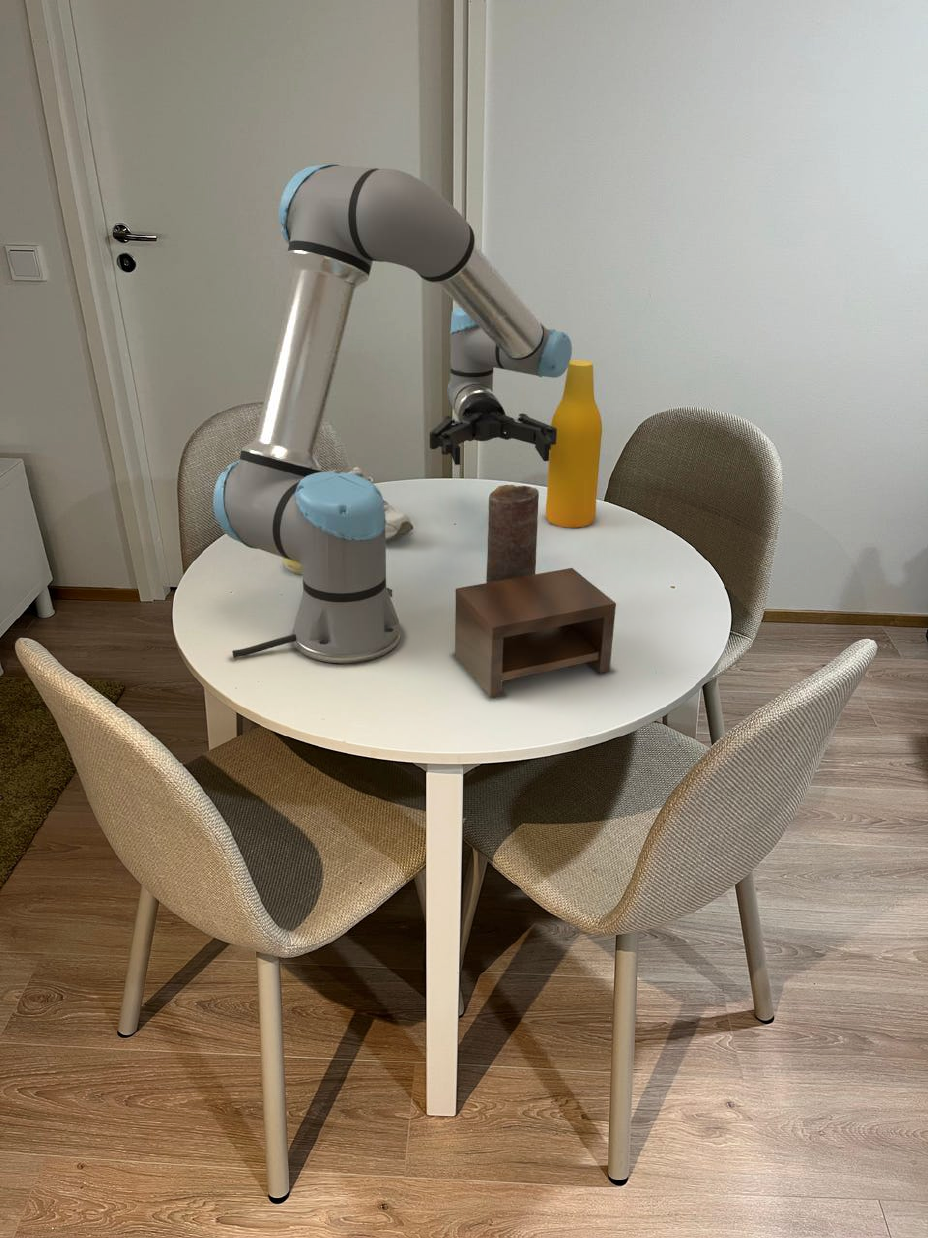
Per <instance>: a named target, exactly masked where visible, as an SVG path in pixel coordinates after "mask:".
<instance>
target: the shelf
mask: <svg viewBox="0 0 928 1238" xmlns="http://www.w3.org/2000/svg"><path fill="white" fill-rule="evenodd" d="M454 603H455V606H454V607H455V611H454V613H455V615H454V622H455V623H454V625H455V626H454V656H455V658H457V660H458V661H459V662H460V663H461V665H462V666H463V667H464V669H465V670H466V671H467V672H468V673H469V674H470V675H471V676H472V678H473V679H474V680H475V682H476V683H478V685H479V686H480V687H481V688H482V689H483V691H484V692H485V693H486V694H487V696H488V697H489V698H490V699H492V698H496V697H501V696H502V685H503V681H507V680H513V679H516V678H521V677H527V676H530V675H534V674H539V673H544V672H548V671H553V670H558V669H563V668H567V667H571V666H576V665H580V664H584V663H588V664H589V665H590V666H591V667H592V668H593V669H594V670H595V671H596V672H597V673H598V674H604V673H607V672H610V670H611V659H612V649H613V640H614V628H615V619H616V607H617V603H616V602H615V600H613V599H611V598H610V597H609V596H608V595H606V594H605V593H604V592H603V591H602V590H601V589H599V588H598V587H597V586H596V585H595V584H594V583H592V582H590V581H589V580H588V579H587V578H586V577H585V576H583V575H582V574H581V573H580V572H578V571H577V570H575V568H573V567H569V568H563V569H556V570H552V571H546V572H540V573H535V574H534V575H529V576H523V577H517V578H512V579H506V580H501V581H495V582H489V583H486V582H485V583H484V582H483V583H477V584H473V585H468V586H462V587H456V588H455V602H454Z"/></svg>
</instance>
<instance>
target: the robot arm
mask: <svg viewBox="0 0 928 1238" xmlns="http://www.w3.org/2000/svg"><path fill="white" fill-rule="evenodd" d="M278 221H279V224H280V225H282V227H281V229H280V231H281V234H282V237H283V238H284V241H285V242H286V243H287V245H288V247H287V248H288V249H287V253H286V257H287V258H288V260H289V262H290V264H291V266H292V268H293V271H294V272H293V275H292V276H293V277H292V281H291V285H290V289H289V292H288V298H287V302H286V306H285V311H284V315H283V319H282V324H281V326H280V327H281V328H280V331H279V335H278V341H277V344H276V349H275V353H274V357H273V361H272V366H271V370H270V375H269V378H268V383H267V387H266V392H265V396H264V400H263V405H262V408H261V413H260V417H259V423H258V426H257V430H256V434H255V438H254V439H253V440H252V441H251V442H249V443H247V444H246V445H243V446H242V448H241V452H240V455H239V458H238V461H234V462H231V463H230V464H228V466H226V467H225V471H222V472H221V473H220V474H219V476H218V478H217V480H216V482H215V485H214V489H213V493H212V494H213V496H212V506H213V512H214V516H215V519H216V521H217V523H218V524H219V526H220V528H221V530H222V531H223V532H224V534H225V535H227V536H228V537H229V538H231V539H232V540H234V541H236V542H239V543H240V544H242V545H244V546H245V547H248V548H251V549H255V550H260V551H263V552H266V553H269V554H273V555H275V556H278V557H281V558H282V559H283V558H286V559H289V560H292V561H295V562H298V563H300V564H301V565H302V574H301V575H302V589H303V591H302V595H301V598H300V602H299V605H298V609H297V612H296V615H295V619H294V623H293V624H294V625H293V634H290V635H287V636H282V637H278V638H275V639H272V640H268V641H264V642H262V643H259V644H255V645H253V646H249V647H245V648H241V649H234V650H232V651H231V653H232V657H233V658H239V657H244V656H245V657H246V656H248V655H249V656H250V655H253V654H256V653H259V652H262V651H265V650H268V649H269V650H270V649H272V648H276V647H279V646H282V645H287V644H290V643H293V642H294V645H295V647H296V648H297V650H298V651H299V652H300V653H302V654H303V655H304V656H307V657H308V658H311V659H314V660H315V661H320V662H325V663H331V664H333V663H334V664H354V663H362V662H366V661H370V660H374V659H377V658H379V657H381V656H384V655H386V654H387V653H389V652H391V651H393V649H394V648H396V646H397V645H398V644H399V642H400V639H401V624H400V619H399V616H398V613H397V611H396V609H395V606H394V604H393V601H392V598H394V596H393V589H391V588H389V587H387V552H386V551H387V546H386V545H387V543H386V542H387V541H386V531H385V526H386V517H385V516H386V515H385V512H384V504H383V500H384V498H383V495H382V492H381V491H380V489H379V488H378V487H377V485H375V483H374V482H373V483H371V481H368V480H366V479H364V478H362V477H359V476H357V475H354V474H349V473H347V472H345V471H344V472H345V473H344V472H342V473H339V474H338V473H335V472H328V471H323V468H322V466H321V464H320V462H319V460H318V459H317V457H316V451H317V446H318V442H319V439H320V434H321V431H322V426H323V422H324V417H325V414H326V409H327V404H328V402H329V396H330V392H331V389H332V385H333V381H334V377H335V372H336V368H337V363H338V359H339V356H340V353H341V352H340V351H341V349H342V348H341V347H342V343H343V338H344V335H345V331H346V326H347V322H348V318H349V314H350V309H351V305H352V302H353V298H354V293H355V291H356V289H357V288H359V286H361V285H363V284H364V283H366V282H368V280H369V279H370V274H371V269H372V266H373V262H380V263H388V264H389V263H390V264H393V265H394V264H395V265H398V266H402V267H405V268H408V269H410V270H413V271H414V272H415V273H416V274H417V275H418V276H419V277H420V278H421V279H422V280H424V281H426V282H429V283H433V284H437V285H438V286H439V287H440V288H441V289H442V290H443V291H444V292H445V293H446V294H447V295H448V296H449V298H451V299H452V300H453V301H454V302H455V303H456V305H458V306H456V307H455V308H454V309H453V310H452V311H451V319H450V331H449V335H450V337H449V339H450V346H449V347H450V372H449V374H450V375H449V382H448V385H447V400H448V402H449V405H450V406H451V408H452V410H453V412H454V414H455V415H456V418H457V419H458V420H455V418H452V416H451V415H445V416H444V417H443V421H441V422H440V423H439V424H438V425H436V426H435V428H433V429H432V430H431V431H430V432H429V448H430V449H431V450H436V449H438V448H440V447H441V454H442V455H443V456H444V455H446V456H447V455H449V454H450V455H451V459H452V460H453V463H454V465H455V466H460V465H461V446H460V445H461V444H462V443H465V442H466V441H468V442H472V441H477V442H487V441H491V440H493V439H498V438H499V439H502V440H506V441H509V440H511V439H514V440H517V441H520V442H524V443H528V444H531V445H534V448H535V450H536V451H537V453H538V455H539V456H540V458H541V459H542V461H543V462H549V451H550V449H551V445H554V444H556V438H557V428H555V427H552V426H551V424H550V425H549V424H547V423H546V422H545V423H544V422H542V421H539V420H537V419H535V418H532V417H530V416H529V415H527V414H526V413H523V412H522V413H519V414H518V416H517V418H514V417H511V416H509V415H506V412H505V409H504V407H503V406H502V404H501V402H500V401H499V399H498V397H497V396H496V394H495V393H494V392H493V391H494V389H493V387H494V385H493V384H494V368H495V369H500V370H506V371H510V372H515V373H516V372H517V373H520V374H527V375H532V376H537V377H539V378H542V377H545V378H552V379H553V378H554V379H555V378H559V377H561V376H562V375H564V373H565V372H567V370H568V365H569V362H570V361H571V360H572V356H573V355H572V354H573V347H572V345H573V344H572V340H571V338H570V336H569V335H568V334H567V333H566V332H564V331H558V330H557V329H553V328H552V329H548V328H546V327H545V326H544V325H543V323H542V322H541V321H540V320H539V318H537V316H536V315H535V314H534V313H533V311H532V310H531V309H530V308H529V306H528V305H527V304H526V303H525V302H524V301H523V299H522V298H521V297H520V296H519V295H518V293H517V292H516V291H515V290H514V289H513V288H512V286H511V285H510V284H509V282H508V281H507V280H506V279H505V278H504V277H503V275H502V274H501V273H500V272H499V270H498V269H497V268H496V266H494V264H493V263H492V262H491V261H490V259H489V258H488V257H487V256H486V255H485V253H483V251H482V250H481V249H480V248H479V246H478V245H477V243H476V234H475V232H474V229H473V228H472V226H471V225H470V224H469V223H468V221H467V220H466V219H465V218H464V217H463V216H462V215H461V213H460V212H459V211H458V210H457V209H456V207H454V206H453V204H451V203H450V202H449V201H448V200H447V199H446V198H444V196H443V195H441V194H440V193H439V192H438V191H436V190H435V189H433V188H432V186H430V185H429V184H427V183H425V182H424V181H422V180H421V179H420V178H417V177H415V176H413V175H412V174H410V173H408V172H405V171H402V170H400V169H394V168H385V167H383V168H377V167H376V168H375V167H361V166H349V165H341V164H336V163H335V164H334V163H327V164H323V165H311V166H308V167H305V168H303V169H302V170H300V171H298V172H297V173H295V175H293V177H291V179H290V180H289V181H288V183H287V184H286V186H285V188H284V189H283V193H282V195H281V198H280V201H279V207H278Z"/></svg>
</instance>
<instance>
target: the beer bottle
mask: <svg viewBox="0 0 928 1238" xmlns="http://www.w3.org/2000/svg"><path fill="white" fill-rule="evenodd" d="M594 387H595V385H594V362H592V361H589V360H583V359H575V360H570V362H569V365H568V368H567V369H566V377H565V383H564V388H563V394H562V397H561V399H560V402H559V404H558V405H557V406H556V409H555V411H554V413H553V415H552V419H551V422H550V426H552V427H555V428H557V438H556V444H554V445H551V449H550V450H549V461H548V470H547V471H548V472H547V486H546V487H547V489H546V502H545V517H546V519H547V521H548V522H549V523H551V524H552V525H554V526H557V527H561V528H569V529H570V528H571V529H575V528H576V529H577V528H584V527H587V526H589V525H591V524H592V523H593V522H594V520H595V518H596V513H597V496H598V486H599V485H598V484H599V473H600V472H599V471H600V459H601V448H602V436H603V422H602V417H601V416H602V415H601V413H600V410H599V407H598V404H597V403H596V399H595V389H594Z"/></svg>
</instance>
